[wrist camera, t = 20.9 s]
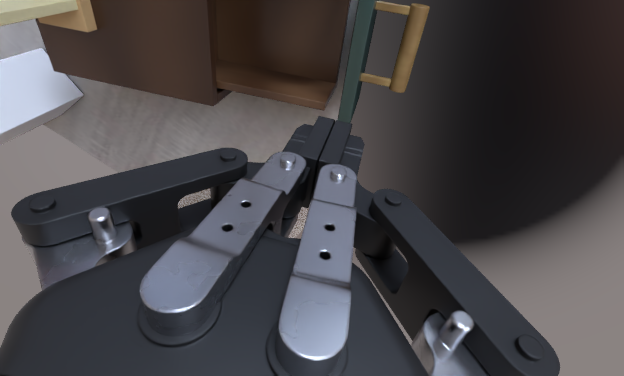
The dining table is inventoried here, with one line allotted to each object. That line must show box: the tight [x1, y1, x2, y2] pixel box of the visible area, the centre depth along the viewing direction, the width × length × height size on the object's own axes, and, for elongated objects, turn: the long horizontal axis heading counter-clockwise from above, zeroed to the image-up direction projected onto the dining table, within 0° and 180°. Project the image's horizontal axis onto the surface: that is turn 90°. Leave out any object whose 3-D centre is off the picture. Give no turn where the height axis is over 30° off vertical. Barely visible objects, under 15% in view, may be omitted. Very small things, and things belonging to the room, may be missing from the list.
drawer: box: [212, 0, 430, 123], centre depth 31 cm, size 21×14×7 cm, turn 83°
